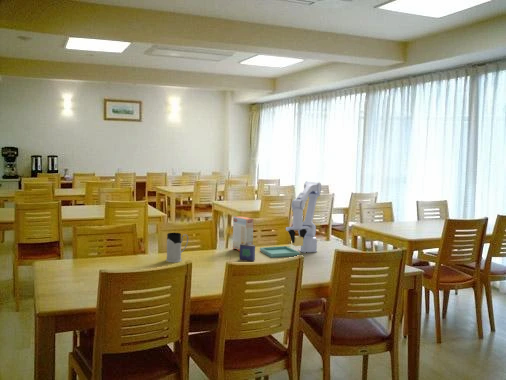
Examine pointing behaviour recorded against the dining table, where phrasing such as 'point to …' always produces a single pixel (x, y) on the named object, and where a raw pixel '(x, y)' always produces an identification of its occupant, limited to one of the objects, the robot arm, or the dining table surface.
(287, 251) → the teal tray
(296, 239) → the ochre cube
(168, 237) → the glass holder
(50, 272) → the dining table surface
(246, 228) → the cracker box
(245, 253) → the blue gift bag
